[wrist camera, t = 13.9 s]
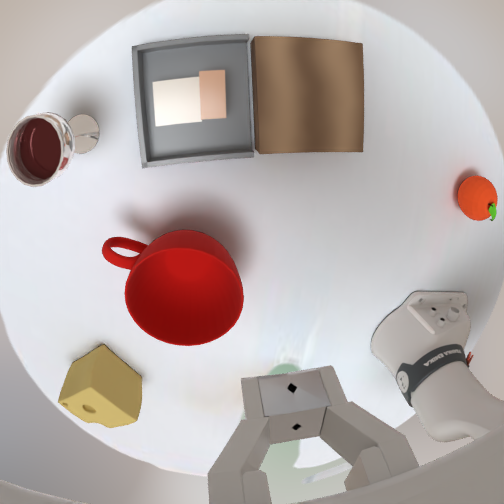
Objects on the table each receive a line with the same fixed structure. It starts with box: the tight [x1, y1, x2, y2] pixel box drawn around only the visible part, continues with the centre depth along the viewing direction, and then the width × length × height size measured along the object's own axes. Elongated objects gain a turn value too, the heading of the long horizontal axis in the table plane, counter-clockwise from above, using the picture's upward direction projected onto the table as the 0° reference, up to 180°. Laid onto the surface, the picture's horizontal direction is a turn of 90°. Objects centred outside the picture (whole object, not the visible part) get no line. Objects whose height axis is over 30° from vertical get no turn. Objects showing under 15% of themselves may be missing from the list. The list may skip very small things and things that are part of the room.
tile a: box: [153, 77, 203, 126], centre depth 31 cm, size 5×5×2 cm
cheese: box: [58, 345, 142, 428], centre depth 46 cm, size 10×11×10 cm
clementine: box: [458, 176, 497, 221], centre depth 39 cm, size 8×7×7 cm
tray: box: [132, 34, 254, 168], centre depth 32 cm, size 12×14×3 cm
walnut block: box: [250, 36, 364, 154], centre depth 32 cm, size 12×13×4 cm
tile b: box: [199, 70, 226, 120], centre depth 30 cm, size 5×5×2 cm
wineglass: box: [6, 112, 99, 187], centre depth 27 cm, size 7×7×12 cm
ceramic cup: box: [102, 230, 244, 346], centre depth 37 cm, size 13×17×10 cm
